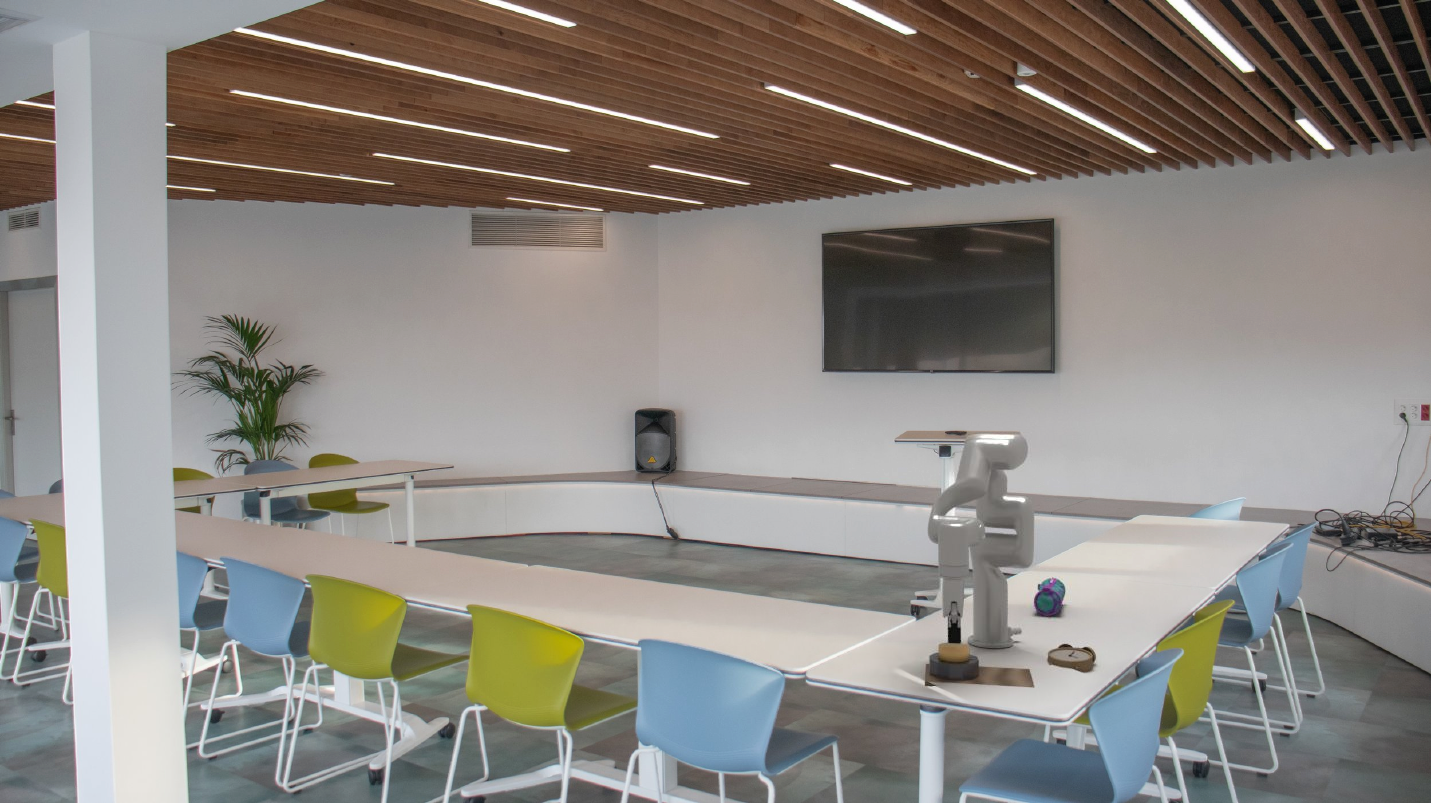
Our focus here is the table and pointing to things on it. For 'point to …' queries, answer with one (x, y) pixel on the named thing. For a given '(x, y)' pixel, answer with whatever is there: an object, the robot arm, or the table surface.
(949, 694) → the table surface
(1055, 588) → the pencil case
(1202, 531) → the table surface
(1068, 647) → the alarm clock
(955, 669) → the grey faceted ring
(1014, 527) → the robot arm
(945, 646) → the cap
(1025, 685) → the mount
